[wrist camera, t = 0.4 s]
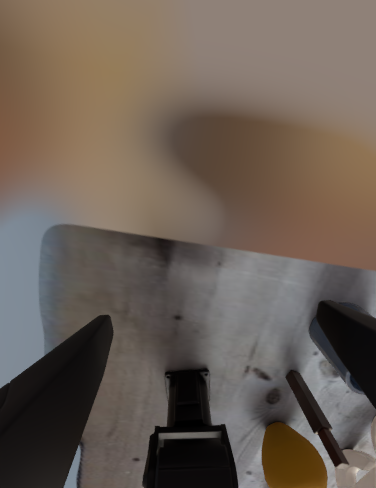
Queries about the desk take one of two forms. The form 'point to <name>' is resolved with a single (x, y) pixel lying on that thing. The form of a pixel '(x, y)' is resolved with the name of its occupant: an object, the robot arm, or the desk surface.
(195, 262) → the desk surface
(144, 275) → the desk surface
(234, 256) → the desk surface
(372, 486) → the cream globe logo
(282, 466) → the apple
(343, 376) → the cup
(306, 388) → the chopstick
